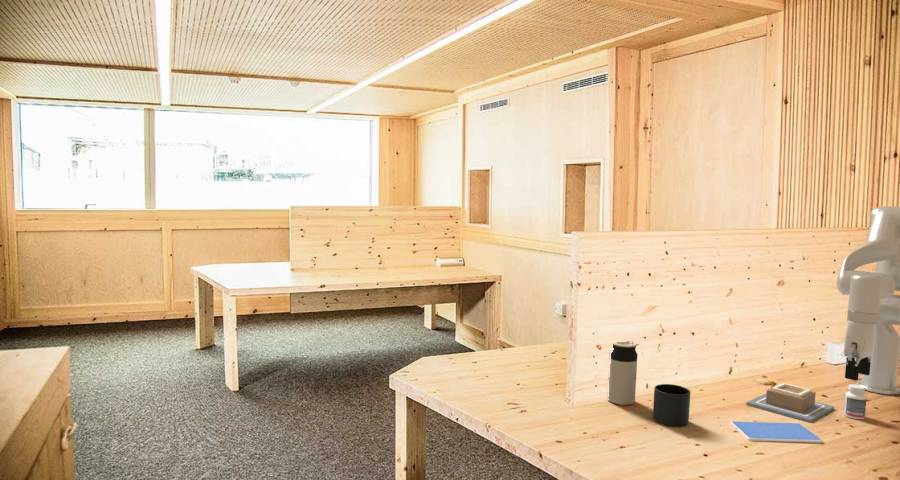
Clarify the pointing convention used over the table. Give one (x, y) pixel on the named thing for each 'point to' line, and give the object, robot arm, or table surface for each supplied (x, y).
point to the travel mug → (623, 373)
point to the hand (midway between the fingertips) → (857, 376)
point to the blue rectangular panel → (775, 432)
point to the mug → (671, 405)
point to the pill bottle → (855, 402)
